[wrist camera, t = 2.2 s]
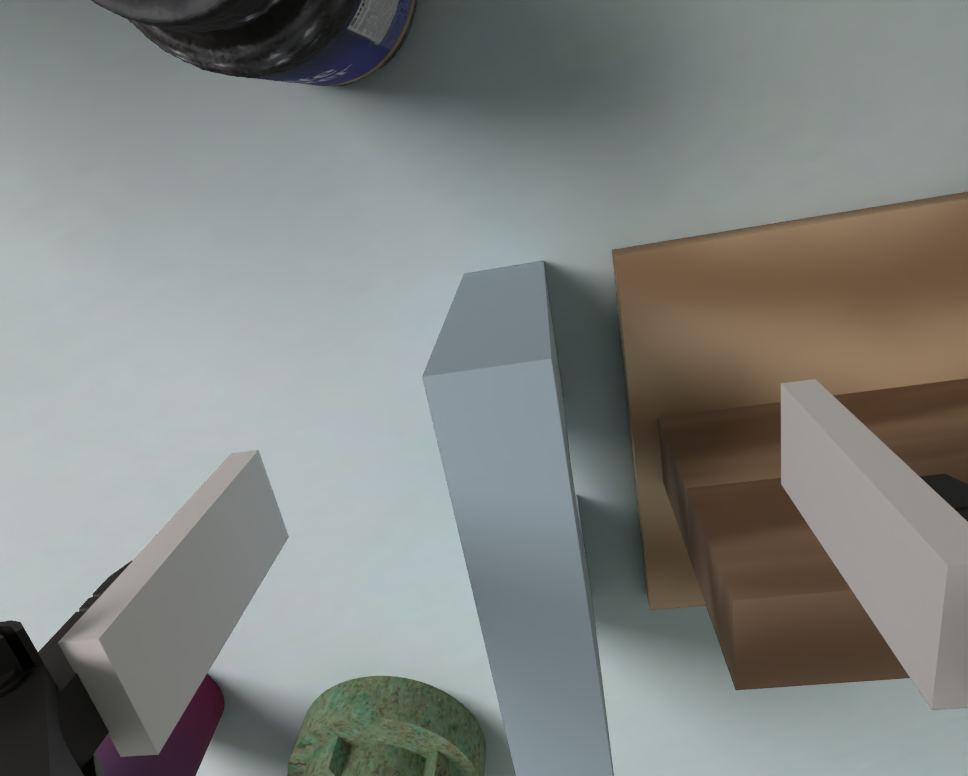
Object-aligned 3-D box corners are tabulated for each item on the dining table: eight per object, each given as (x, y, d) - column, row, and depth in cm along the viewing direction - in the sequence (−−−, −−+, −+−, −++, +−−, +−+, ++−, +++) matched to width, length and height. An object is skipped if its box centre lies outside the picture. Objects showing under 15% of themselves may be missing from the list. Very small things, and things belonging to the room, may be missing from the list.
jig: (612, 249, 23) (673, 358, 13) (1101, 170, 21) (1622, 227, 11) (646, 594, 29) (706, 848, 19) (1028, 559, 27) (1319, 824, 17)
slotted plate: (463, 273, 24) (422, 377, 15) (543, 260, 23) (551, 358, 14) (528, 604, 30) (526, 822, 21) (592, 599, 30) (618, 817, 21)
